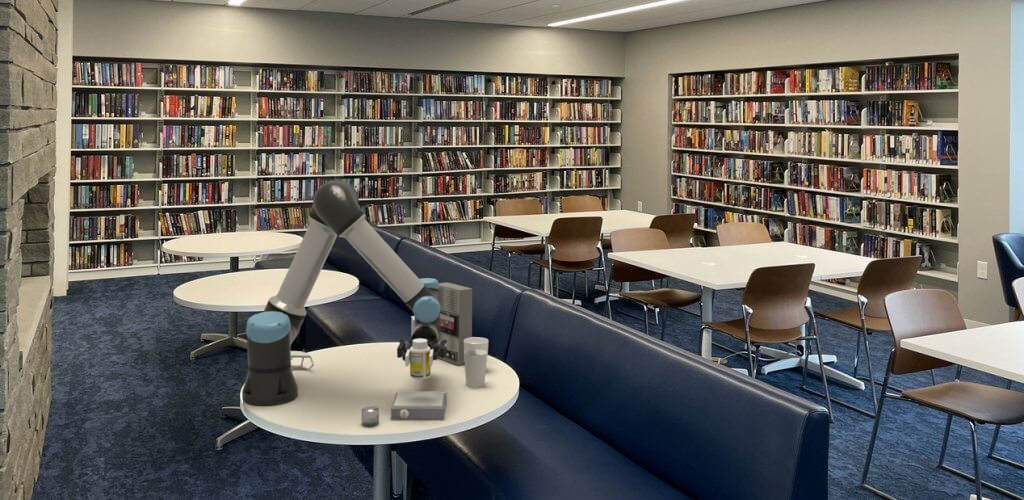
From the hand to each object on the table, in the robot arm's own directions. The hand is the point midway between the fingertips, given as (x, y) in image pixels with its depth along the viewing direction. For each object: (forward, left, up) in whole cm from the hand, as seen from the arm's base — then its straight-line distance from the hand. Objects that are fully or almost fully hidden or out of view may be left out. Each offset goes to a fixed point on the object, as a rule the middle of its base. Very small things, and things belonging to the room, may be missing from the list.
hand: (418, 361), depth 207 cm
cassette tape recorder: (+7, +54, -16) cm, 57 cm away
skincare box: (-5, +64, -16) cm, 66 cm away
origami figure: (-41, +43, -16) cm, 62 cm away
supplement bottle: (0, +5, -6) cm, 8 cm away
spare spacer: (-12, -4, -16) cm, 20 cm away
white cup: (+15, +42, -16) cm, 47 cm away
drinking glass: (+15, +28, -16) cm, 36 cm away
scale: (0, +5, -15) cm, 16 cm away
